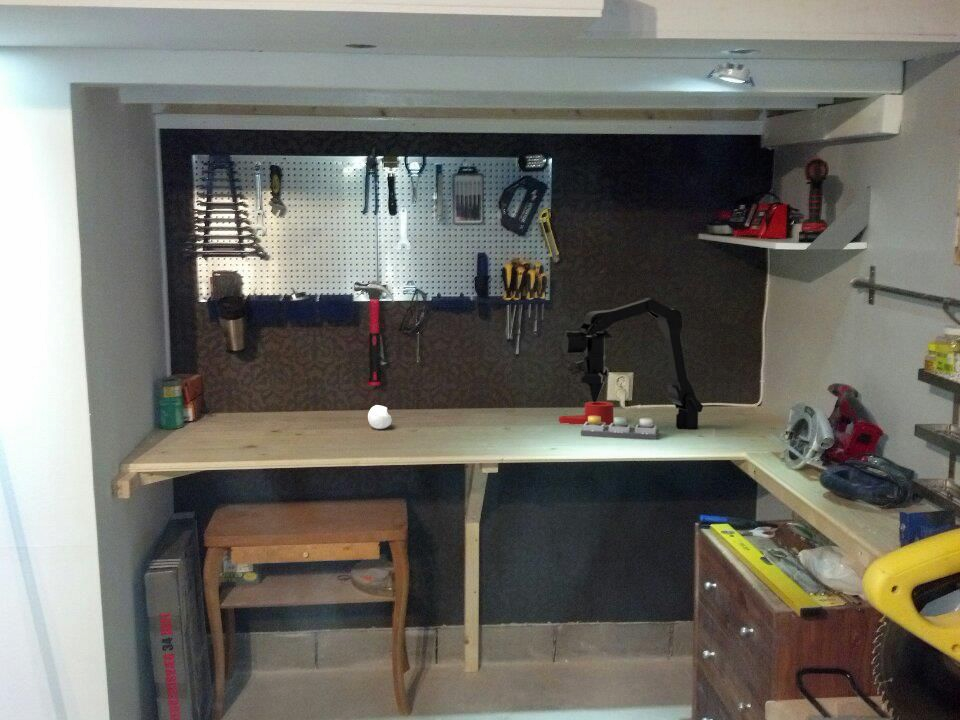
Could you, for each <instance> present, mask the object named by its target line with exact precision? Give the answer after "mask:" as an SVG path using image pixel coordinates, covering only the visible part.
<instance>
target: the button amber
mask: <svg viewBox="0 0 960 720" xmlns="http://www.w3.org/2000/svg"><path fill="white" fill-rule="evenodd" d="M588 423H589V424H601V416H588Z"/></svg>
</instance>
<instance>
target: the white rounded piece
mask: <svg viewBox="0 0 960 720" xmlns="http://www.w3.org/2000/svg"><path fill="white" fill-rule="evenodd" d="M392 419H393V418H392V416H391V415H390V414H389V412H388V407H387V406H384V405H379V404H375V405H374V406H372V407H371V408H370V410H369V411H368V412H367V420H368V423H369V425H370V426H371V427H372V428H373V429H377V430H385V429H386V428H388V427H390V425H391V423H392Z"/></svg>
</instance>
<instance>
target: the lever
mask: <svg viewBox="0 0 960 720" xmlns="http://www.w3.org/2000/svg"><path fill="white" fill-rule="evenodd" d="M588 416H601V422H604V423H606V426H610V424H611V423H614V403H613V402H609V401H599V400H597V402H593V400H592V401H586V402H585V403H584V414H577V415H576V414H575V415H559V416H558V423H559V422H560V423H559V424H562V423H569V424H568V425H575V424H583V425H584V424H585V422H588ZM583 425H582V426H583Z"/></svg>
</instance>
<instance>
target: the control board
mask: <svg viewBox="0 0 960 720" xmlns="http://www.w3.org/2000/svg"><path fill="white" fill-rule="evenodd" d="M580 436H581V437H582V436H583V437H598V438H614V439H615V438H617V439H635V440H650V441H652V440H655V441H656V440H657V438H658V436H659V428H658V424H653V426H651V427H642V426H639V423H637V424H636V425H635V427H632V424H631V423H627V424H626V425H623V426H619V425H614V422H613V423H611V424H610V425H606V423H604V422H601V424H589V423H588V422H585V424H584V425H582V429H581V430H580Z"/></svg>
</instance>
